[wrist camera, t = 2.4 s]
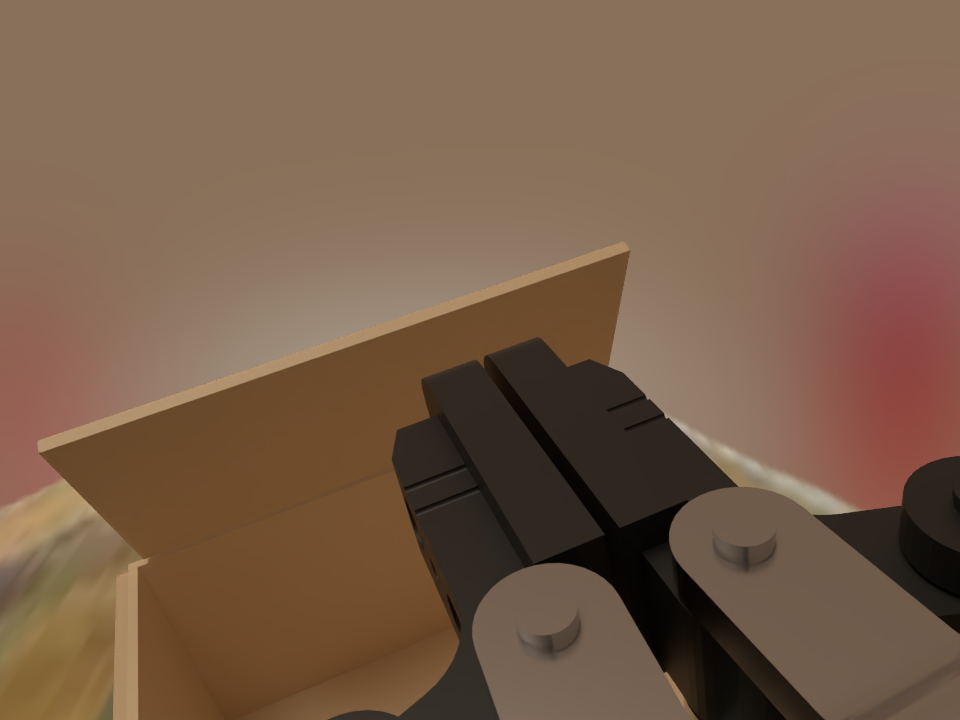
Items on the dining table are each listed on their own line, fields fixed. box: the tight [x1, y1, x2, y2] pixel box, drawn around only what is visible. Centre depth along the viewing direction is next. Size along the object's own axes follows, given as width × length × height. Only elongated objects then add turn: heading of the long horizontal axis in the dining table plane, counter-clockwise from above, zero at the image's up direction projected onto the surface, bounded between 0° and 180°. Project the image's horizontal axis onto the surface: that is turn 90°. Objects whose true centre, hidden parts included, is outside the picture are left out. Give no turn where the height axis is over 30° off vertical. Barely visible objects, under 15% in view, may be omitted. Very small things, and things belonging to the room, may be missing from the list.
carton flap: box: [37, 242, 630, 559], centre depth 35 cm, size 22×10×1 cm
